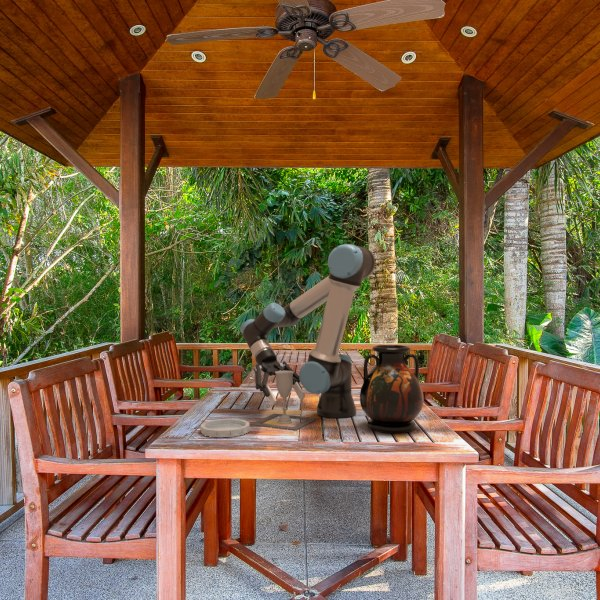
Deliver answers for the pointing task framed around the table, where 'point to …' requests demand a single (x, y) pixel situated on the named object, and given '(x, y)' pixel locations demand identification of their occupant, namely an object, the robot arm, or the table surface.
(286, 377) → the chalice
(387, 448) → the table surface
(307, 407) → the table surface
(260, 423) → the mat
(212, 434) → the plate
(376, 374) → the amphora vase
